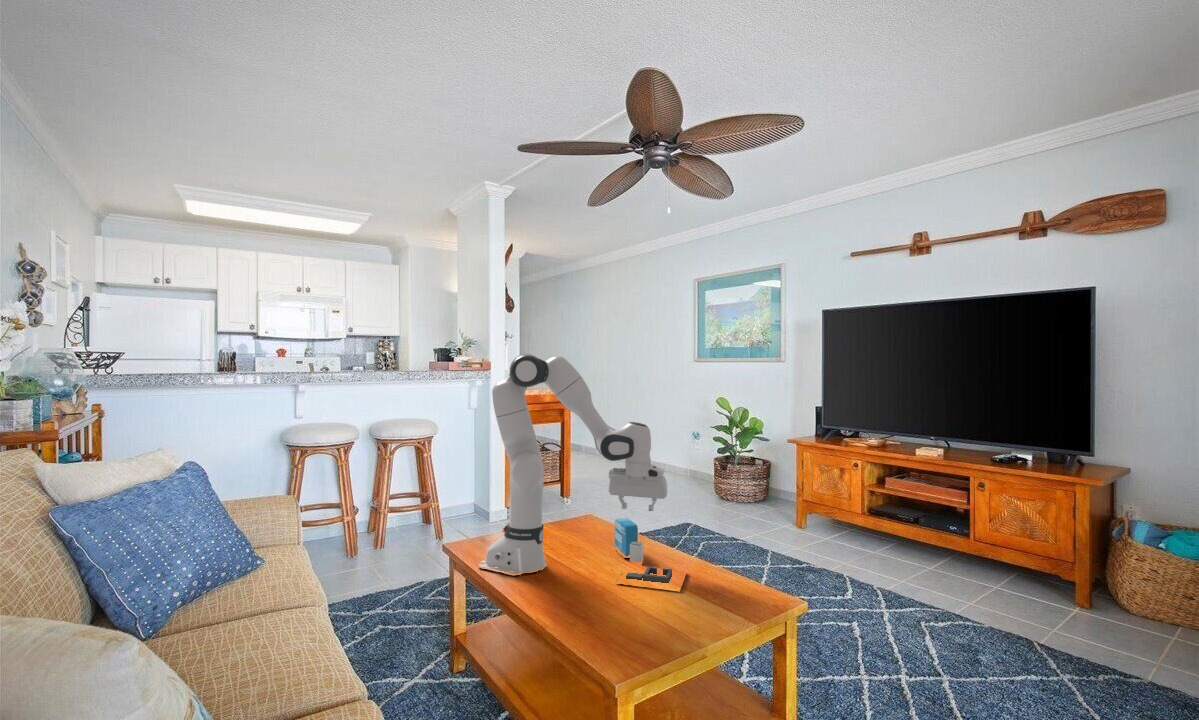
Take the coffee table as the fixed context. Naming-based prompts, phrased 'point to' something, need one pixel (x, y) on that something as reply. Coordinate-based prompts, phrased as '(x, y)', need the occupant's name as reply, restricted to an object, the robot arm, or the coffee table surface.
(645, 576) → the board
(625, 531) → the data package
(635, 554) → the plug
